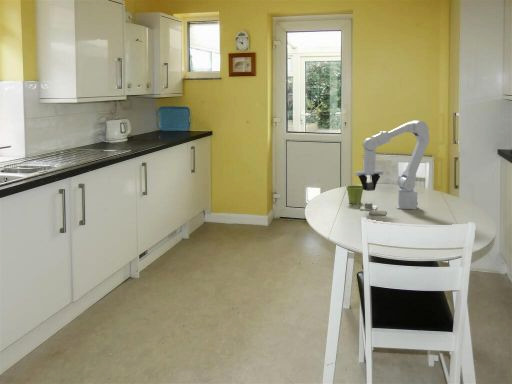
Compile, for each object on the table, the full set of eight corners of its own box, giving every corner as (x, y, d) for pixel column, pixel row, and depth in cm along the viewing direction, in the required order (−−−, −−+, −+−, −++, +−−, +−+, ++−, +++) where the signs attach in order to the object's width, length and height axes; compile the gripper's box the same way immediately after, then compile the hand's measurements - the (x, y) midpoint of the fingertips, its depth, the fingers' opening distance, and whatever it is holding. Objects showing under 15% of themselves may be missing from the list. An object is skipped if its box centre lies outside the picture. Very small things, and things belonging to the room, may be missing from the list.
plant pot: (363, 204, 292) (364, 188, 290) (345, 204, 293) (345, 188, 292) (364, 201, 301) (364, 185, 299) (346, 200, 302) (346, 185, 301)
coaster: (386, 212, 275) (386, 211, 274) (385, 215, 267) (385, 214, 267) (369, 211, 277) (369, 210, 277) (368, 214, 269) (368, 213, 269)
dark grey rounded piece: (374, 190, 279) (375, 182, 279) (366, 190, 278) (367, 183, 277) (369, 188, 285) (370, 181, 284) (361, 188, 283) (362, 181, 283)
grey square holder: (377, 207, 285) (377, 201, 285) (376, 210, 278) (376, 204, 277) (361, 206, 287) (361, 200, 287) (359, 210, 280) (359, 204, 279)
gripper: (379, 160, 284) (378, 187, 286) (352, 162, 280) (352, 188, 283) (385, 162, 277) (385, 189, 280) (358, 164, 273) (358, 191, 276)
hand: (369, 189), depth 281 cm, fingers closed on dark grey rounded piece, 4 cm apart
